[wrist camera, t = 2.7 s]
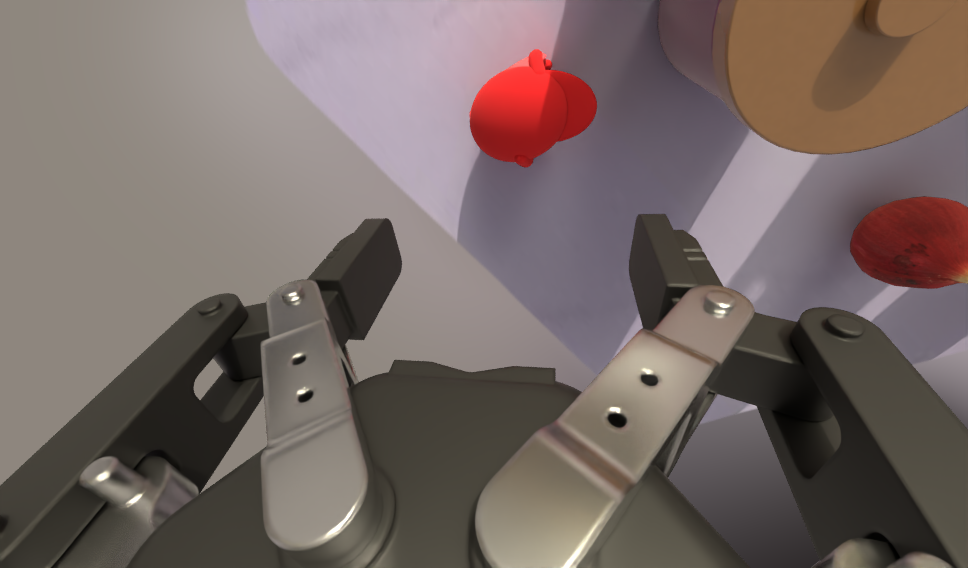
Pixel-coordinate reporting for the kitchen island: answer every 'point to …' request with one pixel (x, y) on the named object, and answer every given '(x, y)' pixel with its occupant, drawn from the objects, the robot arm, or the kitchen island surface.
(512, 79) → the cap
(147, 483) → the robot arm
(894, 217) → the onion
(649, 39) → the kitchen island surface
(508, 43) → the kitchen island surface
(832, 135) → the jar
